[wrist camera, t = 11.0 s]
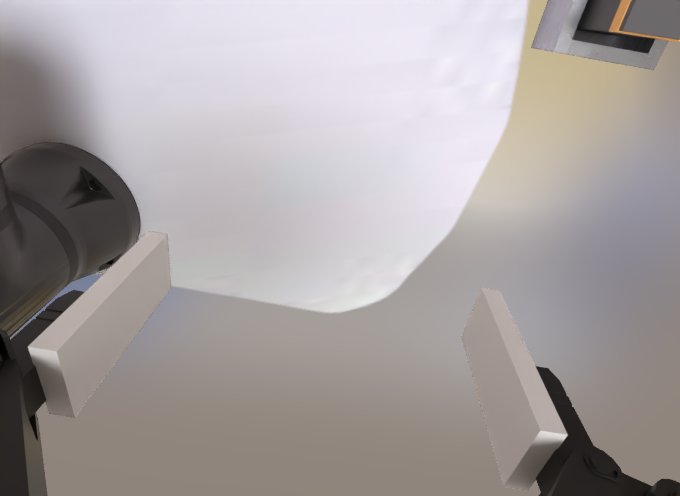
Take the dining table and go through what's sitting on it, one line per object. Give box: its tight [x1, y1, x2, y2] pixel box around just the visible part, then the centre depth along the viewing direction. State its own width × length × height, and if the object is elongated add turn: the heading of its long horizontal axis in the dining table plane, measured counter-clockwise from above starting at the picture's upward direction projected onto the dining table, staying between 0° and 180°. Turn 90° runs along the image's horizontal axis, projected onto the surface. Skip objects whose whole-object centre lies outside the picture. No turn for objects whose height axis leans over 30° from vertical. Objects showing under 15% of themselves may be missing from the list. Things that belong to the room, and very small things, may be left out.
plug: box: [576, 0, 680, 42], centre depth 28 cm, size 4×4×9 cm
